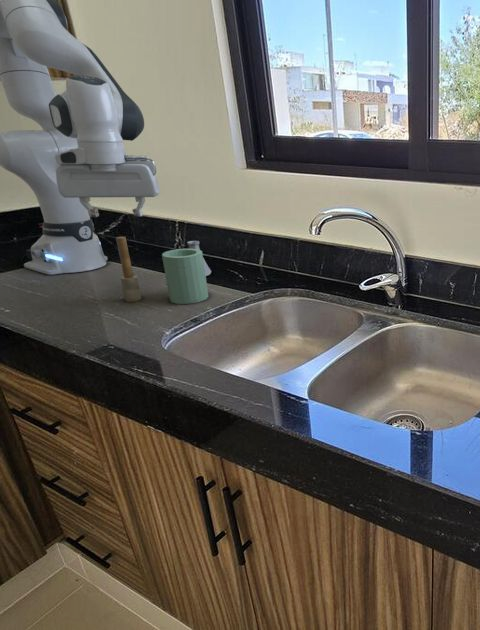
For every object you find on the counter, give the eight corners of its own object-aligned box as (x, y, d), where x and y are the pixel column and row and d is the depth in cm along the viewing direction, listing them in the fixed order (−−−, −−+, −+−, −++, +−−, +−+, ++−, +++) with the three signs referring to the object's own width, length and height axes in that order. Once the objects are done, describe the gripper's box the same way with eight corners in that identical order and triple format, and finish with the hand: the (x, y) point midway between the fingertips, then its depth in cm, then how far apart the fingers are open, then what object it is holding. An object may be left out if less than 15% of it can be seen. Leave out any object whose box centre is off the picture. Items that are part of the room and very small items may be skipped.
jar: (162, 301, 120) (153, 255, 115) (188, 290, 128) (181, 247, 123) (191, 306, 117) (183, 259, 113) (215, 294, 125) (209, 250, 121)
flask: (215, 272, 144) (211, 239, 140) (203, 279, 137) (198, 245, 133) (193, 270, 144) (188, 238, 141) (179, 277, 138) (174, 244, 134)
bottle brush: (122, 300, 119) (108, 238, 113) (133, 296, 122) (121, 235, 116) (133, 302, 118) (120, 239, 112) (145, 298, 121) (132, 236, 115)
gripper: (157, 155, 112) (167, 213, 117) (59, 154, 108) (74, 214, 113) (149, 156, 107) (160, 218, 112) (46, 155, 102) (62, 219, 107)
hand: (116, 216), depth 112 cm, fingers open, 8 cm apart
